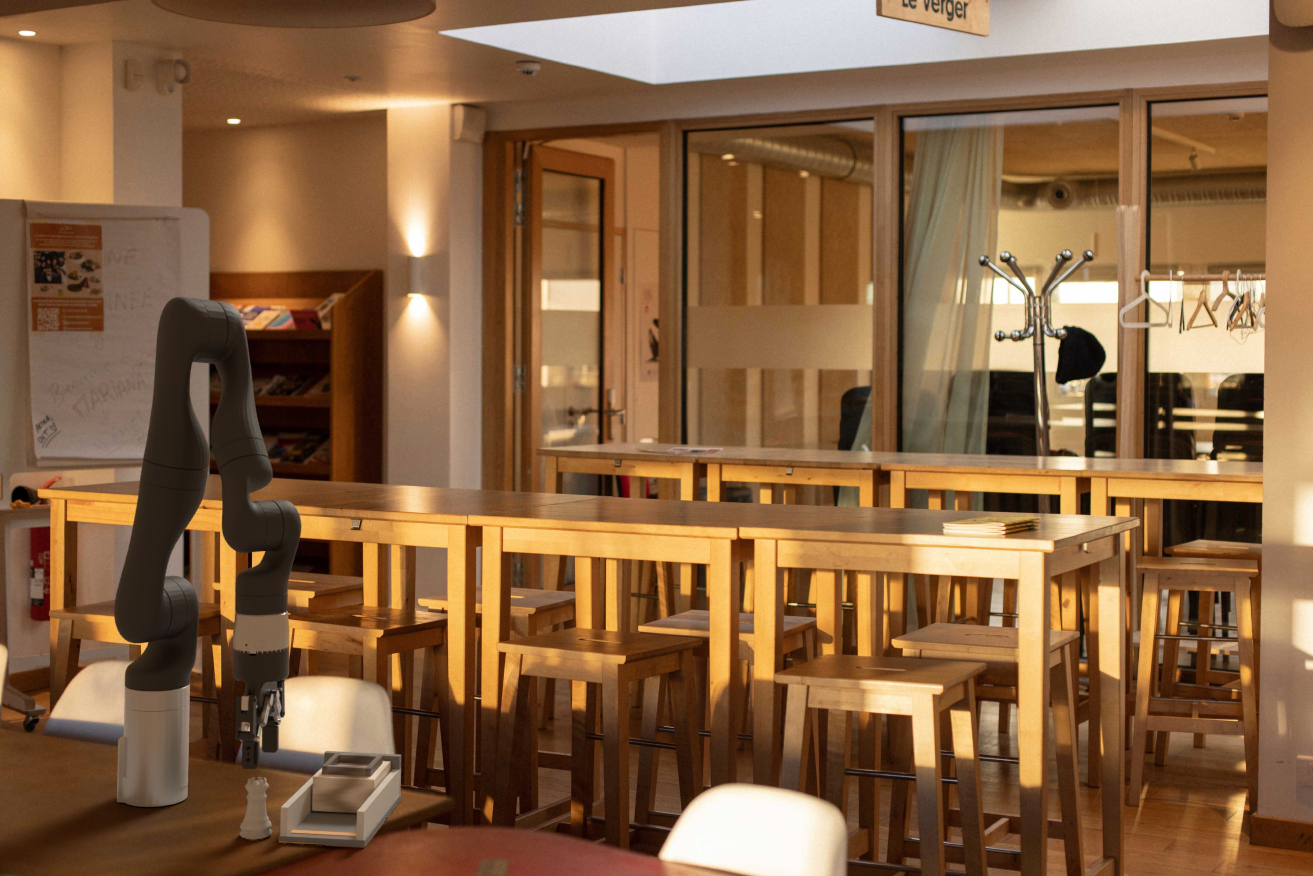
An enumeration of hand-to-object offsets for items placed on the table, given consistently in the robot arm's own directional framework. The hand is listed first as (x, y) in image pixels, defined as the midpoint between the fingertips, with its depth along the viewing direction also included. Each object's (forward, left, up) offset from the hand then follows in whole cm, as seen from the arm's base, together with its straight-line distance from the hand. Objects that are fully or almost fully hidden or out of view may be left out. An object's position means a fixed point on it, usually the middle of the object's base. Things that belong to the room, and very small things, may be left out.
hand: (260, 760), depth 199 cm
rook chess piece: (0, 0, -11) cm, 11 cm away
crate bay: (+10, +9, -11) cm, 17 cm away
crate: (+10, +13, -9) cm, 19 cm away
